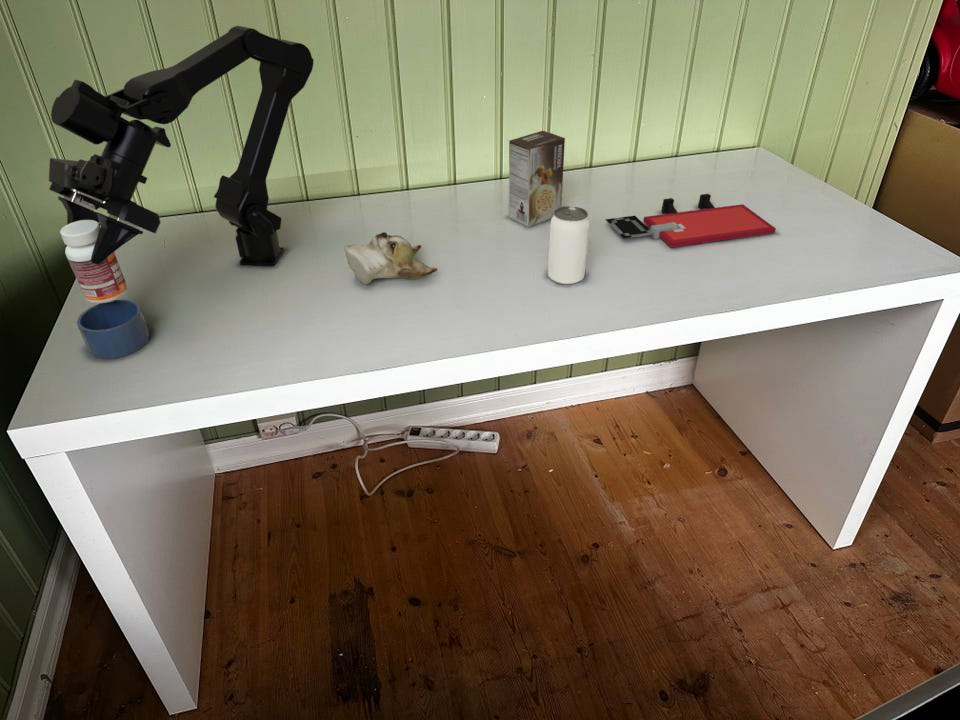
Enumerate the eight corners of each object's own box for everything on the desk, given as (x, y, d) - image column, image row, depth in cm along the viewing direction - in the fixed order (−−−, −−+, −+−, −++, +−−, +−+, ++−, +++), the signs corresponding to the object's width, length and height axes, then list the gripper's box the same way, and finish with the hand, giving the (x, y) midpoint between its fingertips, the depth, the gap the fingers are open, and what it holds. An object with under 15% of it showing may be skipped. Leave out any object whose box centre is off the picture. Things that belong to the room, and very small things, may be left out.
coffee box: (540, 205, 145) (543, 129, 135) (561, 215, 141) (566, 137, 131) (507, 217, 140) (508, 139, 130) (528, 228, 136) (531, 148, 126)
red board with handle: (600, 219, 138) (633, 254, 127) (602, 206, 136) (636, 241, 125) (731, 203, 145) (774, 235, 133) (734, 190, 143) (777, 221, 132)
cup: (159, 327, 109) (150, 300, 106) (133, 360, 102) (122, 332, 99) (107, 325, 110) (96, 298, 107) (77, 357, 103) (65, 330, 100)
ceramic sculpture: (336, 224, 118) (420, 215, 123) (340, 269, 123) (420, 258, 128) (350, 252, 110) (439, 241, 115) (353, 298, 115) (438, 285, 120)
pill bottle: (132, 296, 105) (106, 229, 98) (89, 309, 102) (59, 241, 95) (123, 279, 109) (98, 214, 102) (82, 291, 106) (53, 225, 99)
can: (560, 289, 117) (565, 224, 110) (540, 272, 122) (543, 209, 115) (591, 280, 120) (598, 216, 112) (571, 264, 124) (576, 202, 117)
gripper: (36, 121, 98) (-8, 221, 97) (112, 145, 89) (64, 255, 89) (106, 157, 108) (66, 248, 107) (180, 182, 99) (137, 281, 99)
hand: (81, 257), depth 100 cm, fingers closed on pill bottle, 6 cm apart
